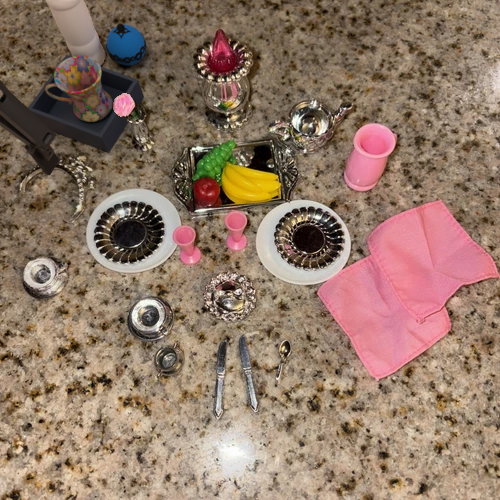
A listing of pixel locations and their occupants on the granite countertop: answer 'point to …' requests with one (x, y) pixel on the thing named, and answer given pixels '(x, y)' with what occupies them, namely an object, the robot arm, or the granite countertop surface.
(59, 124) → the tote
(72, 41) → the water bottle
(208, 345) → the granite countertop surface
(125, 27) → the ornament
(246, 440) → the granite countertop surface
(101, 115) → the mug
